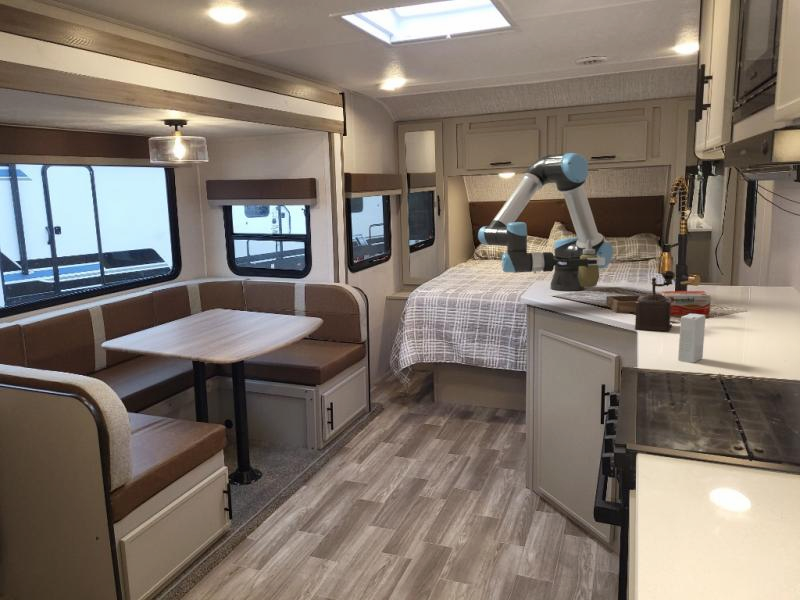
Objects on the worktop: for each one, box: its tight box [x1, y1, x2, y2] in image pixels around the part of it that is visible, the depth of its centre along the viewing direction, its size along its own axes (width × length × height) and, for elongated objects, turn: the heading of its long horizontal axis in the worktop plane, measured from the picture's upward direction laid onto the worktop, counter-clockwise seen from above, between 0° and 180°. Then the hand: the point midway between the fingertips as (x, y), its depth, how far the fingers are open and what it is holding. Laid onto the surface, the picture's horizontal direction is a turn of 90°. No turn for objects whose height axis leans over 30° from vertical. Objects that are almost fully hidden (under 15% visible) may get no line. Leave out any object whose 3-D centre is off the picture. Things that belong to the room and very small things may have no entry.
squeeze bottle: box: [578, 240, 600, 288], centre depth 241 cm, size 8×8×18 cm
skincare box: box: [677, 314, 706, 364], centre depth 165 cm, size 6×4×12 cm
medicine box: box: [660, 290, 711, 318], centre depth 222 cm, size 15×8×8 cm, turn 79°
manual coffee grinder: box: [634, 270, 676, 333], centre depth 204 cm, size 16×11×18 cm
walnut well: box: [605, 294, 644, 314], centre depth 234 cm, size 13×13×4 cm
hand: (601, 260), depth 240 cm, fingers closed on squeeze bottle, 6 cm apart
